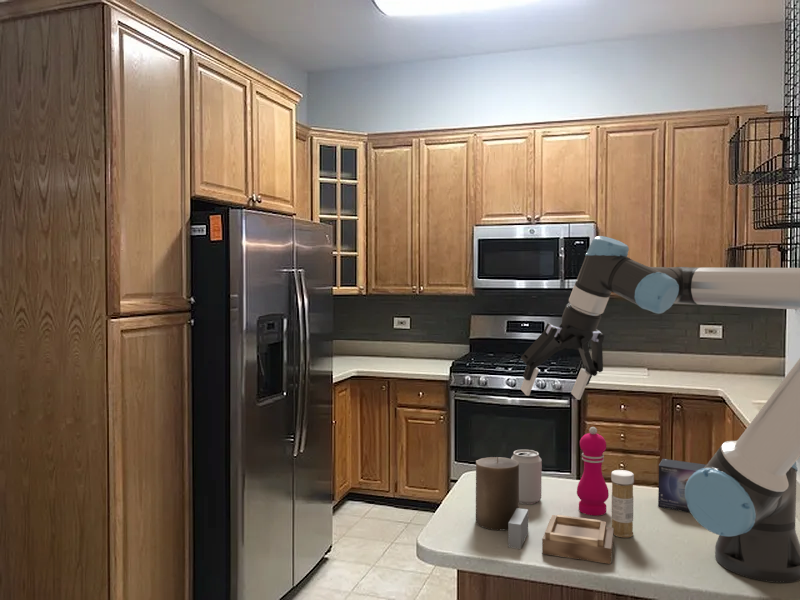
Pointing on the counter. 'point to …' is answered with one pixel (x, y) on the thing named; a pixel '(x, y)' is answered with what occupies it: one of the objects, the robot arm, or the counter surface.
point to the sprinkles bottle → (622, 503)
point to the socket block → (578, 539)
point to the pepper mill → (592, 475)
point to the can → (529, 475)
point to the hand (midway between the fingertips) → (550, 394)
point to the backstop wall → (518, 528)
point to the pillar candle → (496, 492)
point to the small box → (675, 483)
